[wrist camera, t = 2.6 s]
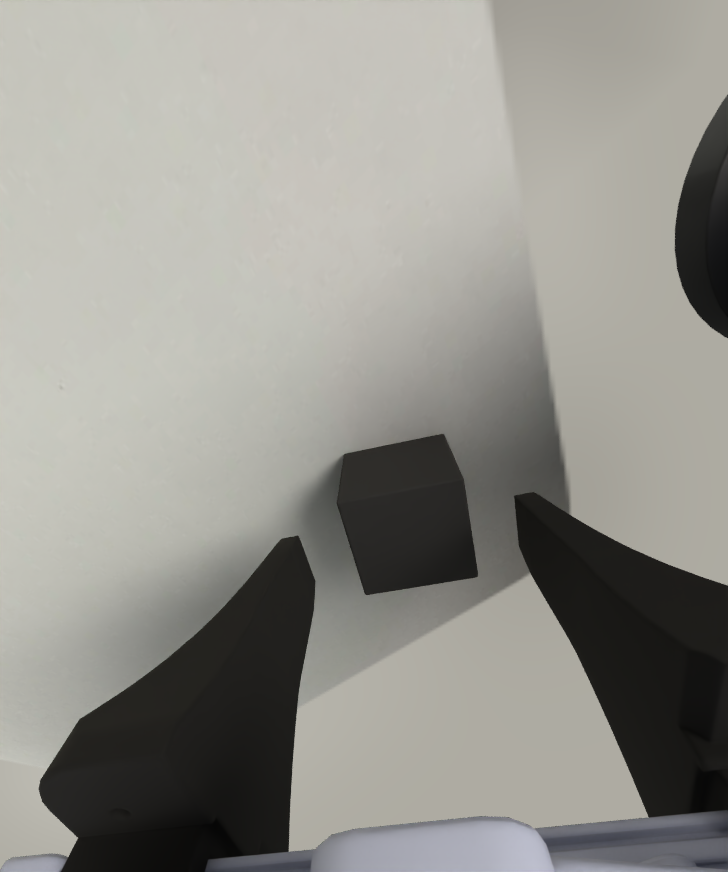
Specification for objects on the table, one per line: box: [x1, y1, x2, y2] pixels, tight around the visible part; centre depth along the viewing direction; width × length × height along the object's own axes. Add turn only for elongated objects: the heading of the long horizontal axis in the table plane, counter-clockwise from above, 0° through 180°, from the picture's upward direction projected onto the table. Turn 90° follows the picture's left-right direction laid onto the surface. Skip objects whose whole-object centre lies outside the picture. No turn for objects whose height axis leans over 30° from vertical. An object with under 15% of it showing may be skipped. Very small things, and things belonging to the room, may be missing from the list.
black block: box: [337, 434, 478, 595], centre depth 14 cm, size 4×4×4 cm
